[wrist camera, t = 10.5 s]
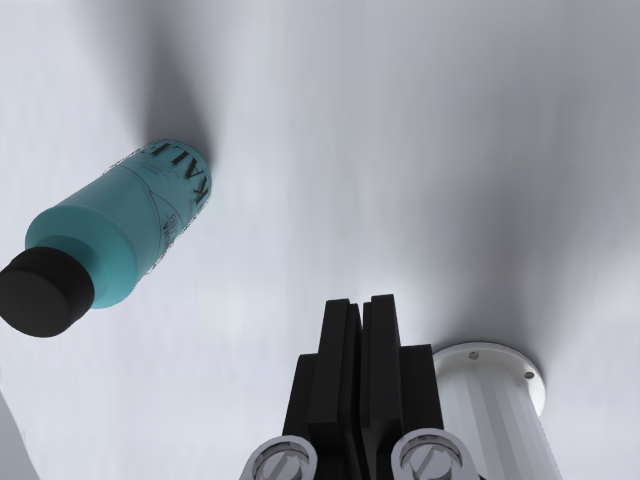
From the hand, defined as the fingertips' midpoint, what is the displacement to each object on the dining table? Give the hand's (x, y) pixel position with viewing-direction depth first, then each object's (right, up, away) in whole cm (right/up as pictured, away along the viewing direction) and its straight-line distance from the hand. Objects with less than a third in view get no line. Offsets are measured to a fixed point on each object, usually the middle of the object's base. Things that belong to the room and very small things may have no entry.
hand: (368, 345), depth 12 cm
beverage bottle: (-12, +8, +28) cm, 32 cm away
